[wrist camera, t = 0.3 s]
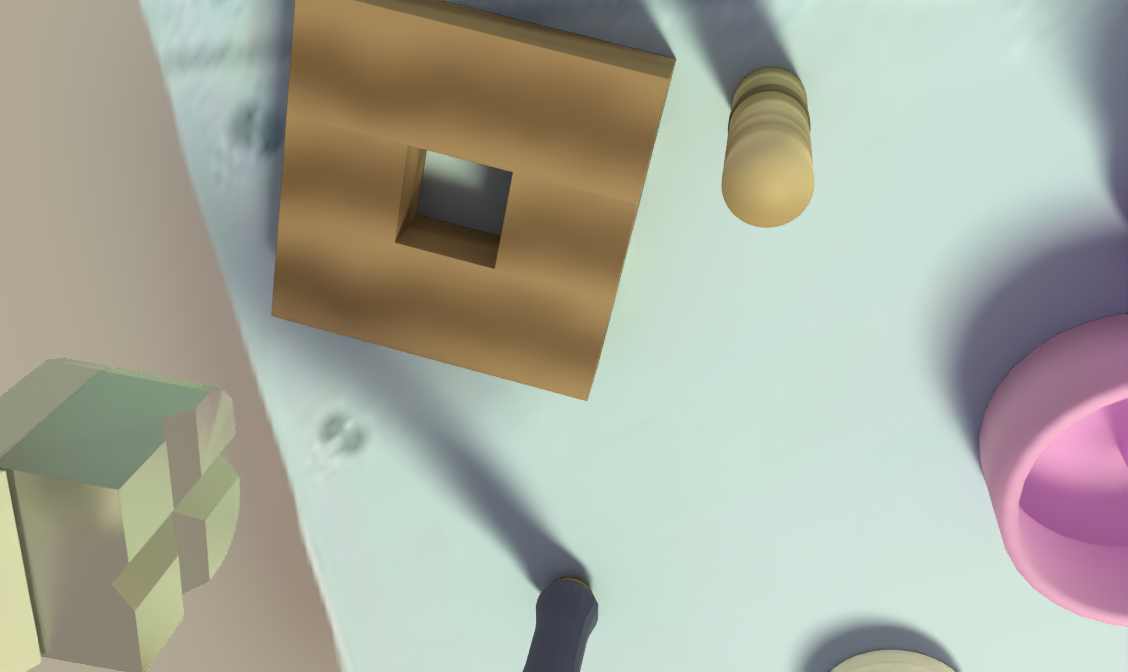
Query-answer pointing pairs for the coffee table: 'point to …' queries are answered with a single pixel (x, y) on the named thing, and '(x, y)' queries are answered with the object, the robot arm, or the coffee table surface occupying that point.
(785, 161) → the maple dowel
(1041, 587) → the container set
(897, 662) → the cream round disc
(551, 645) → the rubber mallet
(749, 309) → the coffee table surface
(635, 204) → the walnut board
